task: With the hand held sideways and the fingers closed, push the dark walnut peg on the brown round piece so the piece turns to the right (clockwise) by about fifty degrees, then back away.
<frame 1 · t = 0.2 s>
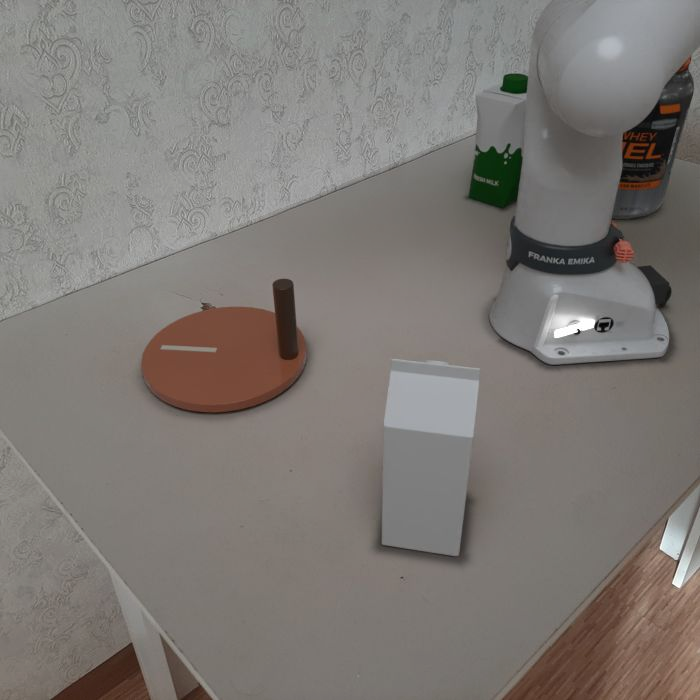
supplement tub: (613, 203, 124), on the table
milk carton: (424, 523, 68), on the table
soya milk: (495, 197, 126), on the table
brown round piece: (220, 321, 85), point 6 cm above the table, hinge at 0.0°
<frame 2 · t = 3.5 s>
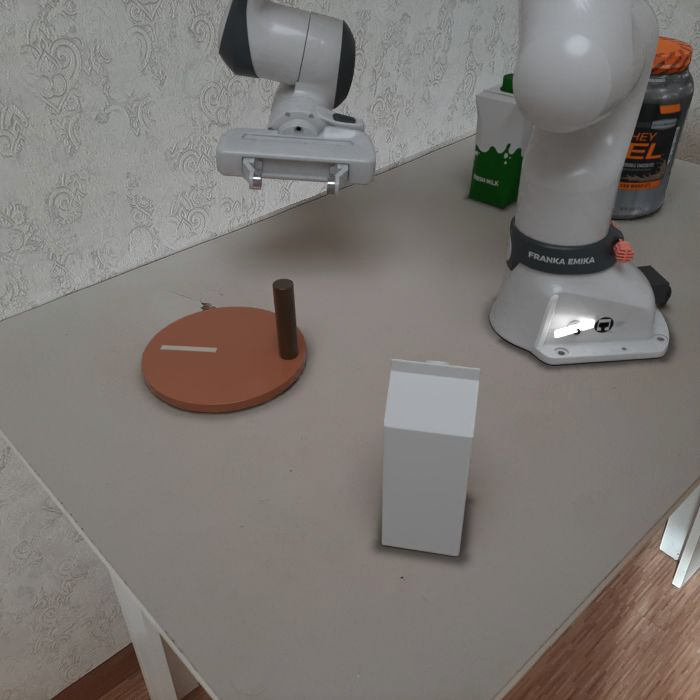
hand: (294, 186, 86), 18 cm above the table, tool horizontal, fingers open, 8 cm apart
nothing on the table moved.
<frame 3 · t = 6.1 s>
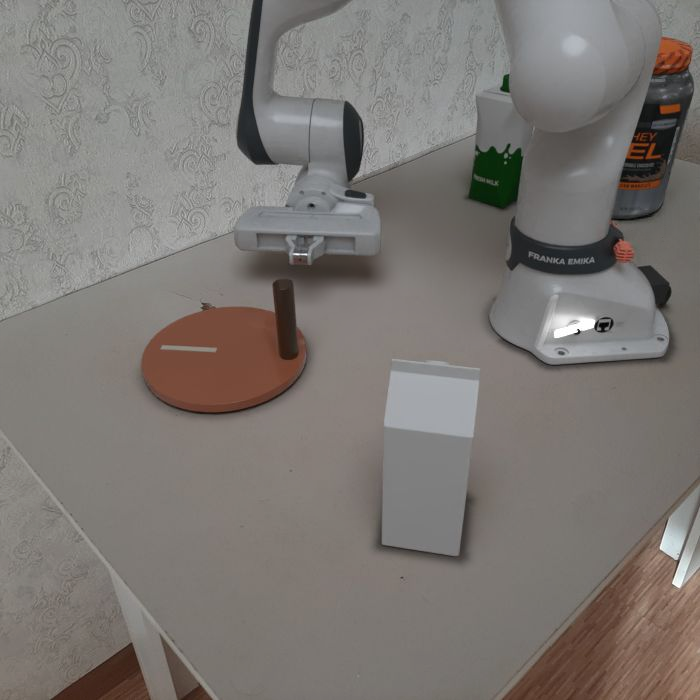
hand: (300, 260, 93), 8 cm above the table, tool horizontal, fingers closed
nothing on the table moved.
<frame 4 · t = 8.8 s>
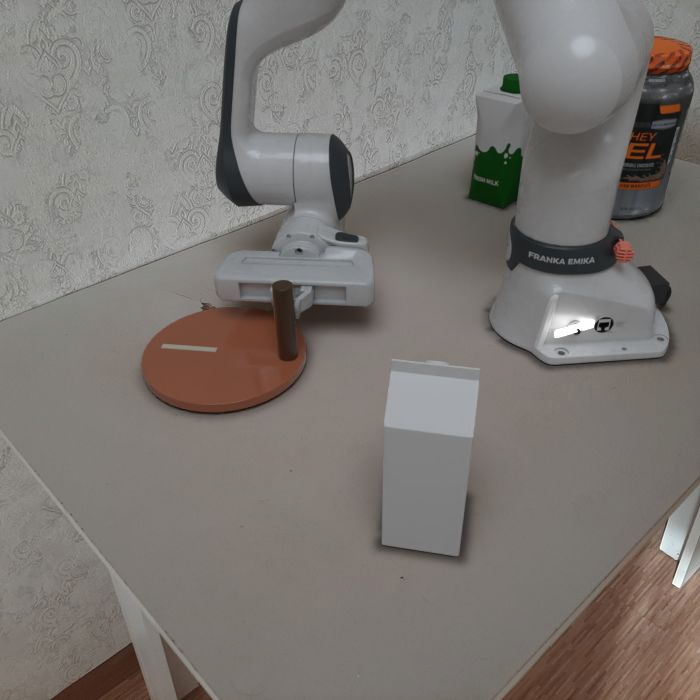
hand: (285, 313, 85), 7 cm above the table, tool horizontal, fingers closed, pressing on brown round piece
brown round piece: (220, 321, 85), point 6 cm above the table, hinge at -2.1°, touching gripper
everything else where it was.
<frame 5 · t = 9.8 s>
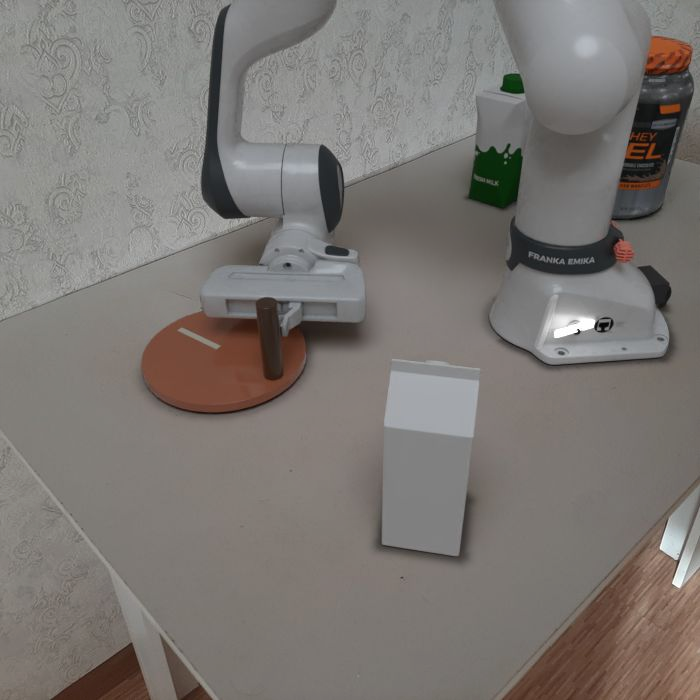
hand: (274, 331, 82), 7 cm above the table, tool horizontal, fingers closed, pressing on brown round piece
brown round piece: (220, 321, 85), point 6 cm above the table, hinge at -30.4°, touching gripper
everything else where it was.
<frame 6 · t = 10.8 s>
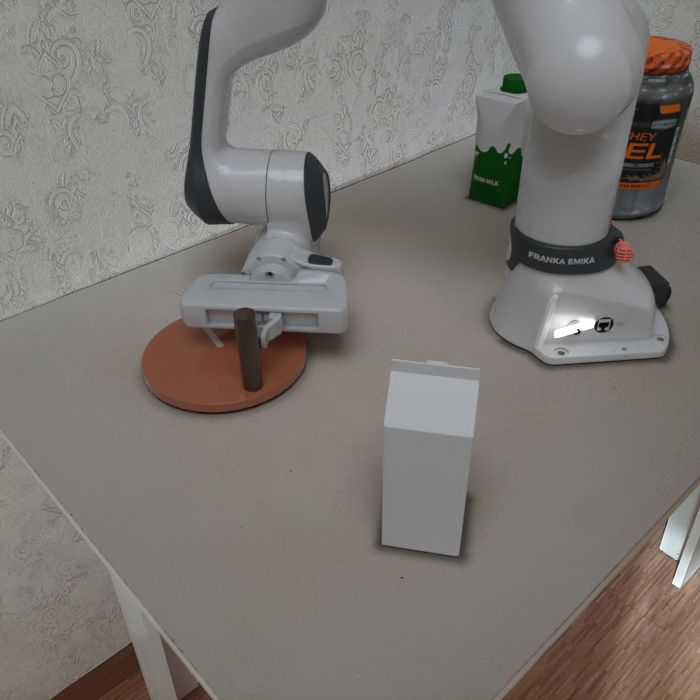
hand: (253, 343, 80), 7 cm above the table, tool horizontal, fingers closed, pressing on brown round piece
brown round piece: (220, 321, 85), point 6 cm above the table, hinge at -51.9°, touching gripper
everything else where it was.
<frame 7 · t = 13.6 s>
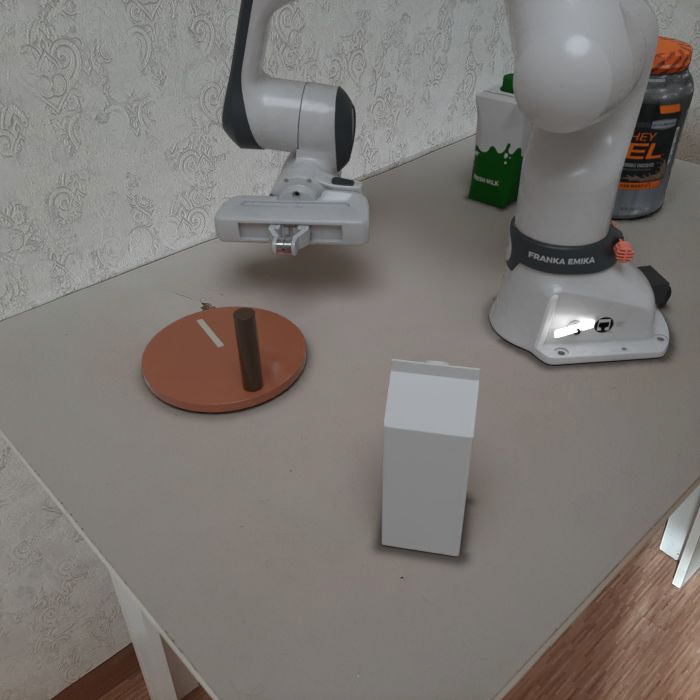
hand: (283, 250, 88), 12 cm above the table, tool horizontal, fingers closed
brown round piece: (220, 321, 85), point 6 cm above the table, hinge at -51.9°
everything else where it was.
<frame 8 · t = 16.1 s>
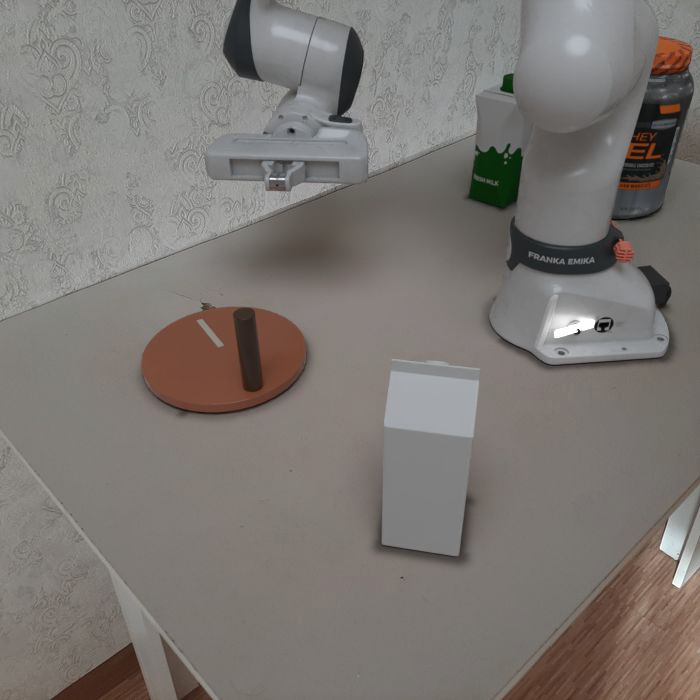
hand: (277, 185, 83), 20 cm above the table, tool horizontal, fingers closed
nothing on the table moved.
at the end: brown round piece at -52° (first picture: +0°); milk carton moved 0.2 cm from its start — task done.
